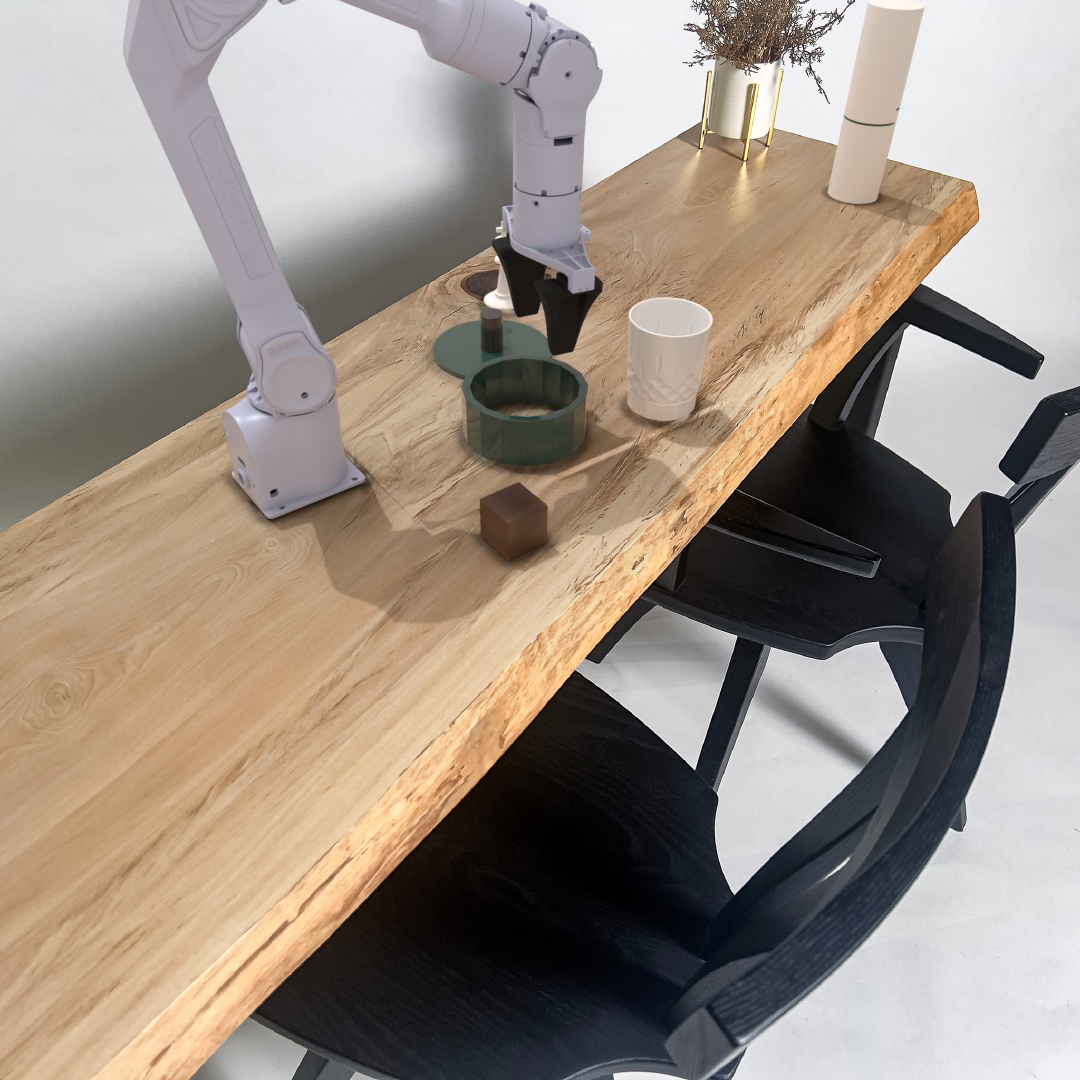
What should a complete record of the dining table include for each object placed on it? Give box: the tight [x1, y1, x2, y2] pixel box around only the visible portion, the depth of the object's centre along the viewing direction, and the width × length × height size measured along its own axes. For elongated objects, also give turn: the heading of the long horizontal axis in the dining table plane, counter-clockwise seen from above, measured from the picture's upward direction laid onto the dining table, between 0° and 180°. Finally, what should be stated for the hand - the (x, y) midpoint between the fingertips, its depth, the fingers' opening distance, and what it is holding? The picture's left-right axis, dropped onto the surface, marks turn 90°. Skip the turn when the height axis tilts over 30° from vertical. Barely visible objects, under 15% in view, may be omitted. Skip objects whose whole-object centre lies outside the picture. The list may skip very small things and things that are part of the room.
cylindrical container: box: [827, 0, 926, 205], centre depth 134 cm, size 7×7×25 cm
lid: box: [432, 307, 552, 380], centre depth 103 cm, size 13×13×5 cm
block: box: [479, 481, 549, 562], centre depth 80 cm, size 4×4×4 cm
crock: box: [460, 354, 589, 467], centre depth 91 cm, size 12×12×5 cm
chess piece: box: [483, 220, 514, 311], centre depth 110 cm, size 5×5×10 cm
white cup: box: [626, 296, 714, 425], centre depth 94 cm, size 8×8×10 cm
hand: (543, 332), depth 88 cm, fingers open, 7 cm apart
